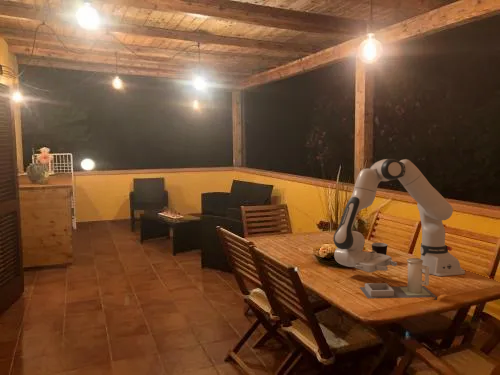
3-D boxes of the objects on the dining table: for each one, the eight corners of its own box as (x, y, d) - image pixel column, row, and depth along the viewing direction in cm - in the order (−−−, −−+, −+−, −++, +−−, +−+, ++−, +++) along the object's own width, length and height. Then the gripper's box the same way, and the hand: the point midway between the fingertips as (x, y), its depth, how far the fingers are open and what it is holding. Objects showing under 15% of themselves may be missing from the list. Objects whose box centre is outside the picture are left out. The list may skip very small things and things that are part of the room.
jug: (404, 291, 190) (404, 260, 189) (410, 287, 195) (411, 257, 193) (424, 295, 184) (425, 264, 182) (431, 291, 188) (431, 261, 187)
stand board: (424, 288, 197) (424, 280, 197) (437, 299, 183) (437, 291, 183) (359, 289, 197) (359, 282, 197) (367, 301, 183) (367, 292, 183)
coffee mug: (388, 264, 236) (388, 246, 235) (372, 263, 238) (372, 246, 237) (385, 258, 248) (386, 241, 247) (370, 257, 249) (370, 241, 248)
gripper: (353, 259, 199) (380, 264, 189) (375, 250, 213) (401, 255, 203) (353, 272, 200) (380, 278, 190) (375, 262, 214) (401, 268, 204)
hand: (391, 266), depth 197 cm, fingers open, 8 cm apart
